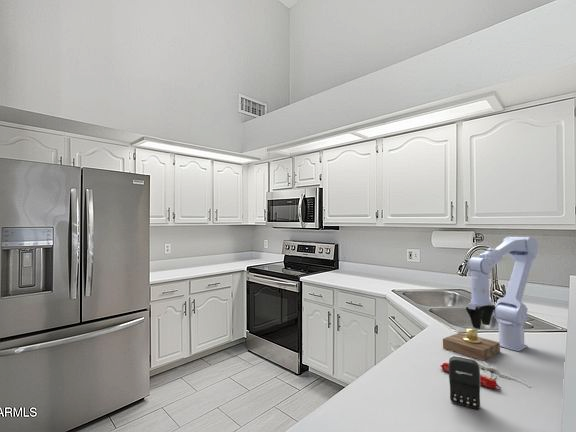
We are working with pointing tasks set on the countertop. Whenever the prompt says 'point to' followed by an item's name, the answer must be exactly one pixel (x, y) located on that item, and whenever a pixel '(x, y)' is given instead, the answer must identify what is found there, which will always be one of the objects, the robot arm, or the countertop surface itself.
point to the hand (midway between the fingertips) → (481, 326)
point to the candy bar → (483, 379)
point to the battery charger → (464, 381)
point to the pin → (471, 336)
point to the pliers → (489, 369)
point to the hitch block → (471, 346)
